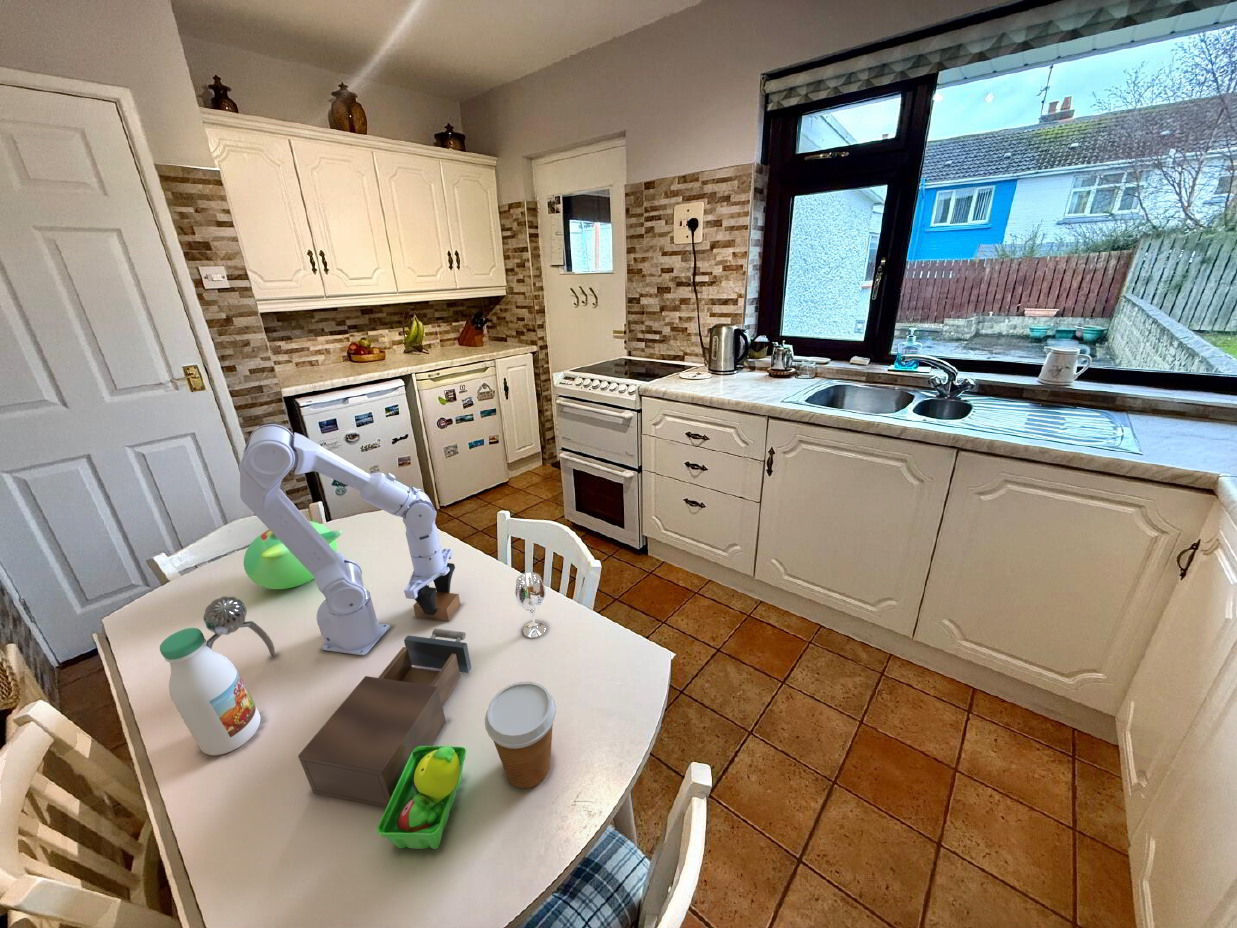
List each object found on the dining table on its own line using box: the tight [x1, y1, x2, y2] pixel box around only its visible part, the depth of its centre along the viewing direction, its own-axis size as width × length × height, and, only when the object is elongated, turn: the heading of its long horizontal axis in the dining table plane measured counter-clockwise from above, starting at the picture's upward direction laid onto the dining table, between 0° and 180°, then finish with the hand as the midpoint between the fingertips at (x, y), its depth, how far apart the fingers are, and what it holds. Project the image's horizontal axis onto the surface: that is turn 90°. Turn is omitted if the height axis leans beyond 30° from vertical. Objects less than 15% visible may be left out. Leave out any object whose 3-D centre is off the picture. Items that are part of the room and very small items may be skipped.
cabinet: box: [297, 675, 447, 809], centre depth 71 cm, size 14×13×8 cm
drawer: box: [377, 628, 472, 708], centre depth 82 cm, size 17×11×6 cm
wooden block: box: [412, 591, 461, 622], centre depth 101 cm, size 8×5×3 cm, turn 79°
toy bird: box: [243, 520, 343, 590], centre depth 110 cm, size 18×17×15 cm
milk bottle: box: [159, 627, 261, 756], centre depth 72 cm, size 8×8×20 cm
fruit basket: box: [376, 745, 467, 850], centre depth 62 cm, size 11×9×11 cm
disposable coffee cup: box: [484, 680, 557, 789], centre depth 68 cm, size 10×10×12 cm
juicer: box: [202, 595, 276, 657], centre depth 78 cm, size 10×11×30 cm
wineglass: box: [514, 571, 547, 639], centre depth 94 cm, size 6×6×12 cm
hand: (437, 605), depth 101 cm, fingers closed on wooden block, 5 cm apart
